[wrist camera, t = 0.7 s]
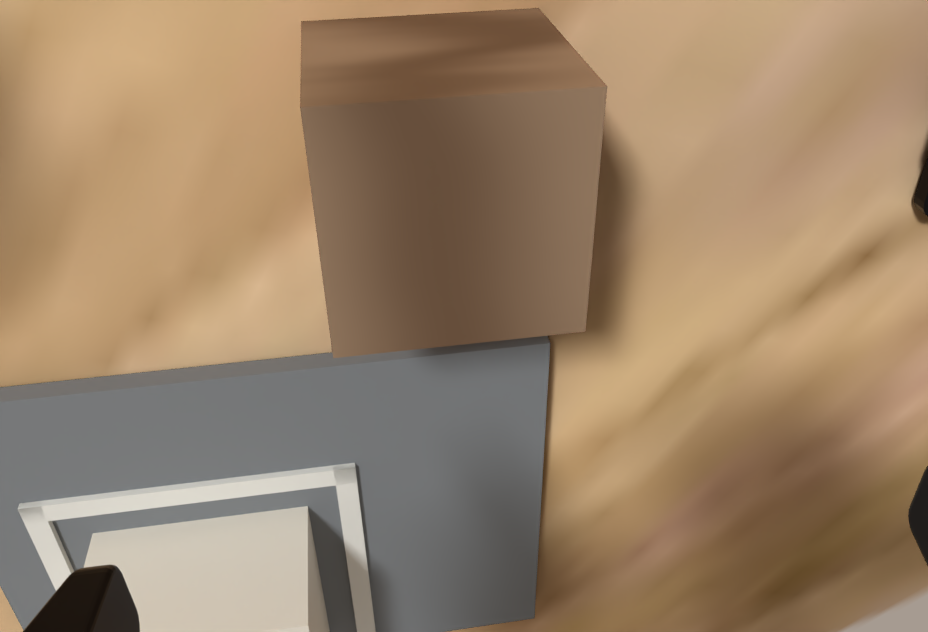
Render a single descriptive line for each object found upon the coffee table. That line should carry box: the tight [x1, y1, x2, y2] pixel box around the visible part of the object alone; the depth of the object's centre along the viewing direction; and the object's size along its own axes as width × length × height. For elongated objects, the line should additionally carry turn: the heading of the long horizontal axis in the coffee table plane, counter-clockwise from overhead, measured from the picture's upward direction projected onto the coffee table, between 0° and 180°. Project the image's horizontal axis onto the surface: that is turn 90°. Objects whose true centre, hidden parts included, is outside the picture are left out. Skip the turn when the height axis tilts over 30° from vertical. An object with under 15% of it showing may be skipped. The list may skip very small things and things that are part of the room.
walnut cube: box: [300, 8, 607, 358], centre depth 17 cm, size 5×5×5 cm
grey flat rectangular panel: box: [0, 336, 550, 632], centre depth 25 cm, size 16×12×1 cm
